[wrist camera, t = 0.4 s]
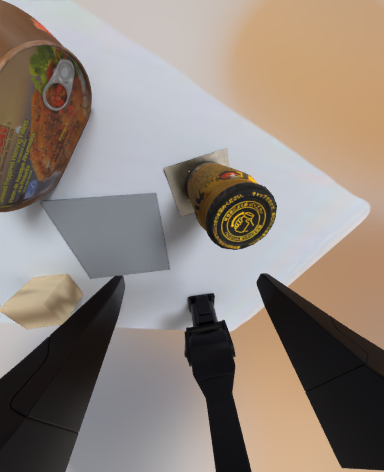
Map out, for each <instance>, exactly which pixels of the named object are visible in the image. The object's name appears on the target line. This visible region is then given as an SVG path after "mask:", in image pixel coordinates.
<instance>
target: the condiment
mask: <svg viewBox="0 0 384 472" xmlns="http://www.w3.org/2000/svg"><path fill="white" fill-rule="evenodd" d="M164 170H165V173H166V176H167V178H168V181H169V184H170V187H171V190H172V193H173V196H174V198H175V202H176V205H177V207H178V210H179V213H180V216H181V217H182V216H186V215H189V214H193V213H195V215H196V218H197V219H198V222H199V223H200V225H201V226H202V227H203V228H204V229H205V230H206V231H207V234H208V236H209V237H210V239H211V240H212V241H213V242H214V243H215V244H217V245H218V246H220V247H221V248H225V249H233V250H237V249H243V248H246V247H248V246H251V245H253V244H255V243H256V242H258V241H259V240H261V239H262V238H263V237H264V236H265V235H266V234H267V233H268V231H269V230H270V229H271V227H272V225H273V223H274V221H275V217H276V209H277V205H276V202H275V199H274V197H273V195H272V194H271V193H270V191H269V190H268V189H267V188H266V187H264V186H262V185H259V184H258V183H257V182H256V181H255V180H254V178H252V177H251V176H250V175H248V174H246V173H244V172H241V171H238V170H235V169H232V168H230V167H229V162H228V151H227V148H226V149H223V150H219V151H216V152H213V153H210V154H207V155H203V156H200V157H197V158H194V159H191V160H188V161H185V162H181V163H178V164H175V165H172V166H169V167H166V168H164ZM189 170H190V172H189ZM188 199H189V200H190V201H188Z"/></svg>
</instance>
